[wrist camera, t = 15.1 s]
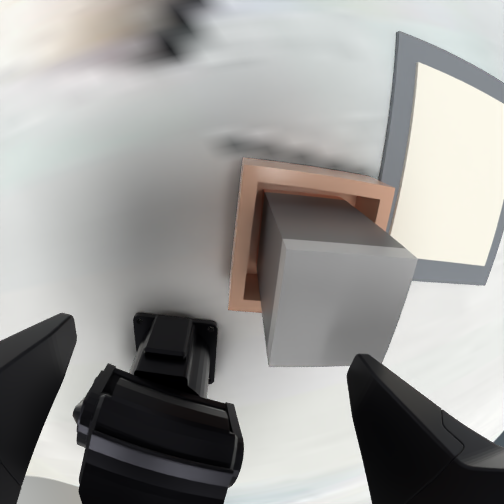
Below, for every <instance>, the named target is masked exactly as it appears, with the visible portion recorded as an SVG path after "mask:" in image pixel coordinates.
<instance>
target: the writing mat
mask: <svg viewBox="0 0 504 504" xmlns="http://www.w3.org/2000/svg"><path fill="white" fill-rule="evenodd" d="M379 181H381V182H383V183H386V184H388V185H390V186H392V187H394V188H395V192H394V197H393V202H392V206H391V211H390V215H389V220H388V224H387V228H386V232H387V233H388V234H389V235H390V236H392V237H393V238H394V239H395V240H396V241H398V242H399V243H400V244H401V245H402V246H404V247H405V248H406V249H407V250H408V251H410V252H411V253H412V254H413V255H414V256H415V257H417V258H418V261H417V264H416V268H415V271H414V275H413V278H412V281H423V282H438V283H453V284H469V285H485V284H486V282H487V279H488V276H489V274H490V271H491V268H492V265H493V262H494V259H495V256H496V253H497V250H498V247H499V244H500V240H501V237H502V234H503V230H504V83H503V82H502V81H500V80H498V79H497V78H495V77H494V76H492V75H490V74H489V73H487V72H485V71H483V70H482V69H480V68H478V67H476V66H474V65H473V64H471V63H469V62H467V61H465V60H463V59H461V58H459V57H457V56H455V55H453V54H451V53H449V52H447V51H445V50H443V49H441V48H439V47H437V46H434V45H432V44H430V43H428V42H425V41H423V40H421V39H418V38H416V37H413V36H411V35H408V34H406V33H403V32H401V31H398V32H397V37H396V53H395V66H394V77H393V87H392V96H391V104H390V112H389V120H388V127H387V134H386V140H385V147H384V153H383V159H382V165H381V170H380V176H379Z"/></svg>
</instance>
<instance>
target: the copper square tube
mask: <svg viewBox="0 0 504 504" xmlns="http://www.w3.org/2000/svg"><path fill="white" fill-rule="evenodd" d="M263 189H272V190H283V191H293V192H303V193H313V194H322V195H330V196H339V197H341V198H343V199H344V200H345V201H347V202H348V203H349V204H351V205H352V206H353V207H355V208H356V209H357V210H359V211H360V212H361V213H363V214H364V215H365V216H366V217H368V218H369V219H370V220H372V221H373V222H374V223H375V224H377V225H378V226H379V227H380V228H382V229H383V230H384V231H385V232H386V228H387V224H388V220H389V215H390V211H391V206H392V202H393V197H394V192H395V188H394V187H392V186H390V185H388V184H386V183H383V182H381V181H379V180H377V179H374V178H372V177H370V176H366V175H361V174H356V173H350V172H344V171H339V170H333V169H327V168H321V167H314V166H308V165H301V164H294V163H287V162H279V161H271V160H263V159H255V158H246V157H243V159H242V168H241V177H240V186H239V194H238V204H237V213H236V222H235V231H234V241H233V251H232V260H231V270H230V282H229V303H228V310H233V311H245V312H258V313H262V308H261V300H260V292H259V284H258V276H257V268H256V256H257V246H258V237H259V227H260V217H261V207H262V197H263Z"/></svg>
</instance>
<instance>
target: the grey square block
mask: <svg viewBox="0 0 504 504" xmlns="http://www.w3.org/2000/svg"><path fill="white" fill-rule="evenodd" d="M417 261H418V258H417V257H415V256H414V255H413V254H412V253H411V252H410V251H408V250H407V249H406V248H405V247H404V246H402V245H401V244H400V243H399V242H398V241H396V240H395V239H394V238H393V237H392V236H390V235H389V234H388V233H387V232H385V231H384V230H383V229H382V228H380V227H379V226H378V225H377V224H375V223H374V222H373V221H372V220H370V219H369V218H368V217H366V216H365V215H364V214H363V213H361V212H360V211H359V210H357V209H356V208H355V207H353V206H352V205H351V204H349V203H348V202H347V201H345V200H344V199H343V198H341V197H339V196H330V195H322V194H313V193H303V192H293V191H283V190H272V189H263V197H262V207H261V217H260V227H259V237H258V246H257V256H256V268H257V276H258V284H259V292H260V300H261V308H262V317H263V325H264V333H265V341H266V349H267V357H268V365H269V367H328V366H351V363H352V361H353V359H354V357H355V355H356V354H359V353H360V354H369V355H371V356H372V357H373V358H375V359H376V360H377V361H379V362H380V363H381V364H382V362H383V359H384V357H385V355H386V352H387V350H388V347H389V344H390V342H391V339H392V337H393V334H394V331H395V329H396V326H397V323H398V320H399V318H400V315H401V312H402V309H403V306H404V303H405V300H406V297H407V294H408V291H409V288H410V285H411V281H412V278H413V275H414V271H415V268H416V264H417Z"/></svg>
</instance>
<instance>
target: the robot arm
mask: <svg viewBox="0 0 504 504" xmlns="http://www.w3.org/2000/svg"><path fill="white" fill-rule="evenodd" d="M138 318H139V319H141V320H142V321H139V320H138ZM133 323H134V333H135V342H136V350H137V354H136V356H135V359H134V362H133V364H132V367H131V370H130V372H129V373H128V372H125V371H122V370H120V369H117V368H116V366H114V365H111V364H109V363H108V364H107V366H106V368H105V369H104V371H101V372H100V374H99V375H98V377H96V378H95V381H94V383H93V385H92V387H91V388H90V390H89V392H88V393H87V395H86V397H85V398H84V399H83V400H82V401H81V402H80V403H79V404H78V405H77V406H76V407H75V409H74V411H73V417H74V419H75V421H76V423H77V444H78V445H80V446H82V447H84V448H85V453H84V457H83V462H82V466H81V471H80V476H79V484H80V486H79V495H80V498H81V501H82V504H224V500H225V496H226V493H227V489H228V488H229V487H231V486H232V485H233V484H234V483H235V481H236V479H237V477H238V475H239V472H240V469H241V466H242V461H243V454H244V442H243V437H242V434H241V430H240V426H239V423H238V419H237V415H236V411H235V407H234V404H231V403H227V402H226V403H221V402H217V401H214V400H210V399H207V390H208V384H212V383H213V382H214V374H215V359H216V345H217V331H218V325H217V324H216V323H215V322H214V321H206V320H196V319H190V318H183V317H174V316H165V315H152V314H145V313H137V314H136V315H135V316H134V319H133ZM208 327H213V329H209V328H208ZM76 341H77V335H76V329H75V322H74V318H73V316H72V315H69V314H65V313H60V314H57V315H55V316H53V317H51V318H49V319H47V320H44V321H42V322H40V323H38V324H36V325H34V326H31V327H29V328H27V329H25V330H23V331H21V332H18V333H16V334H14V335H12V336H10V337H8V338H6V339H4V340H1V341H0V504H16V503H17V500H18V497H19V493H20V490H21V486H22V483H23V480H24V477H25V474H26V471H27V468H28V465H29V463H30V460H31V457H32V454H33V452H34V449H35V446H36V444H37V441H38V438H39V436H40V433H41V431H42V428H43V426H44V423H45V421H46V419H47V416H48V414H49V411H50V409H51V407H52V404H53V402H54V400H55V398H56V395H57V393H58V391H59V389H60V386H61V384H62V382H63V379H64V376H65V373H66V370H67V367H68V365H69V362H70V359H71V356H72V353H73V350H74V347H75V345H76ZM347 384H348V391H349V398H350V405H351V412H352V418H353V422H354V426H355V431H356V435H357V439H358V443H359V447H360V451H361V455H362V460H363V464H364V468H365V473H366V477H367V482H368V486H369V491H370V496H371V500H372V504H504V447H501V446H498V445H496V444H494V443H493V442H491V441H489V440H488V439H486V438H484V437H483V436H481V435H480V434H478V433H476V432H475V431H473V430H471V429H470V428H468V427H467V426H465V425H464V424H462V423H461V422H459V421H458V420H456V419H455V418H453V417H452V416H451V415H449V414H448V413H447V412H445V411H444V410H441V408H440V407H439V406H437V405H436V404H434V403H433V402H432V401H430V400H429V399H428V398H426V397H425V396H424V395H422V394H421V393H420V392H418V391H417V390H416V389H414V388H413V387H412V386H410V385H409V384H408V383H406V382H405V381H404V380H402V379H401V378H400V377H398V376H397V375H396V374H394V373H393V372H392V371H390V370H389V369H388V368H386V367H385V366H384V365H383V364H381V363H380V362H379V361H377V360H376V359H375V358H373V357H372V356H371V355H369V354H360V353H359V354H356V355H355V357H354V359H353V361H352V363H351V366H350V368H349V370H348V372H347Z"/></svg>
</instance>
